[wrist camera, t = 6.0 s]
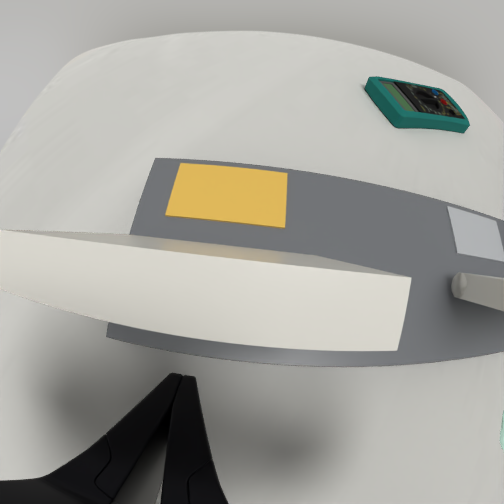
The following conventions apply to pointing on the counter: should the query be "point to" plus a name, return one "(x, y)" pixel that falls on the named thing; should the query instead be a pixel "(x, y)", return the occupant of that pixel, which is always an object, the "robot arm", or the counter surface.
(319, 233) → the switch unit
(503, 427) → the cloth
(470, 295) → the lever
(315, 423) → the counter surface
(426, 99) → the digital multimeter
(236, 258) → the white square panel
